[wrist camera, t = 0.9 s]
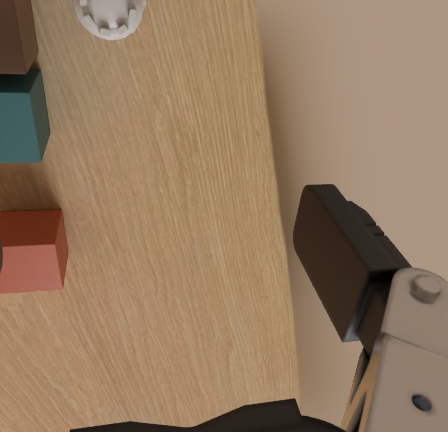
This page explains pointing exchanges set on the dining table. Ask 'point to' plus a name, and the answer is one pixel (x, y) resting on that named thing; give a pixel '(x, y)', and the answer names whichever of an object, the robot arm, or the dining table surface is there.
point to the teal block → (23, 118)
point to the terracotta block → (32, 251)
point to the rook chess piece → (110, 16)
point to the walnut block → (17, 37)
